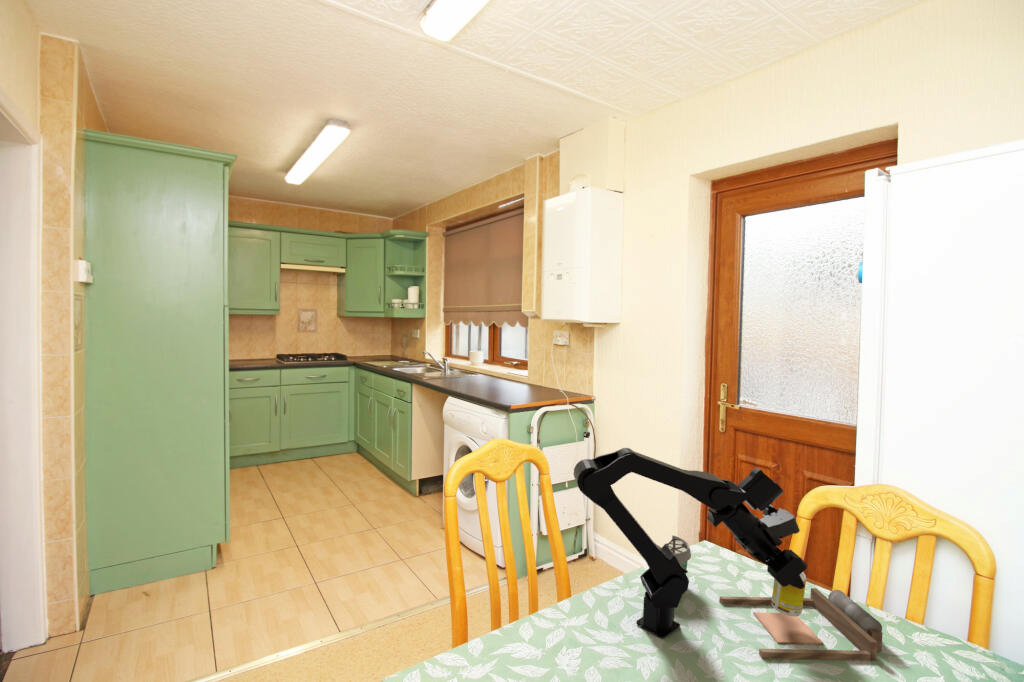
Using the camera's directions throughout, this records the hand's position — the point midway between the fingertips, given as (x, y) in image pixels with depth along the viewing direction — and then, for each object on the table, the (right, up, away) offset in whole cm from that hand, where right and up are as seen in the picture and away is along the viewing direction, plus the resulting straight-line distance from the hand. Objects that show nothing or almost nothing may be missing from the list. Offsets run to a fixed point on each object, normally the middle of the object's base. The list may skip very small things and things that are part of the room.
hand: (794, 579), depth 104 cm
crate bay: (+1, -10, 0) cm, 10 cm away
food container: (-20, -9, +15) cm, 26 cm away
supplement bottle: (-2, -7, 0) cm, 7 cm away
